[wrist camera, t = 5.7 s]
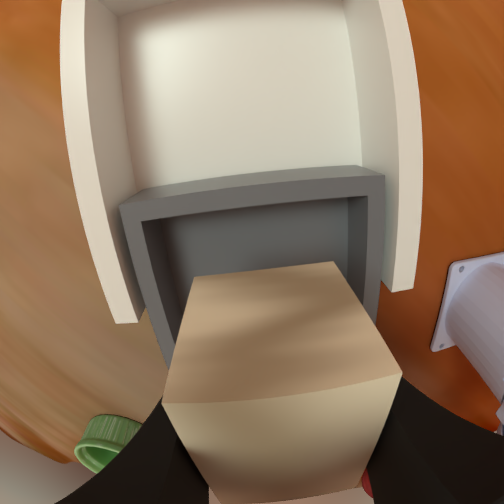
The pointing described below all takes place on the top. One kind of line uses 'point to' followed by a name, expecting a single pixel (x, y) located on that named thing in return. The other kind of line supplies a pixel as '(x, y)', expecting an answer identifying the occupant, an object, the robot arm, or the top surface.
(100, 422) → the ramekin
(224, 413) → the block
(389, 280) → the housing
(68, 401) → the top surface
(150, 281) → the tray
